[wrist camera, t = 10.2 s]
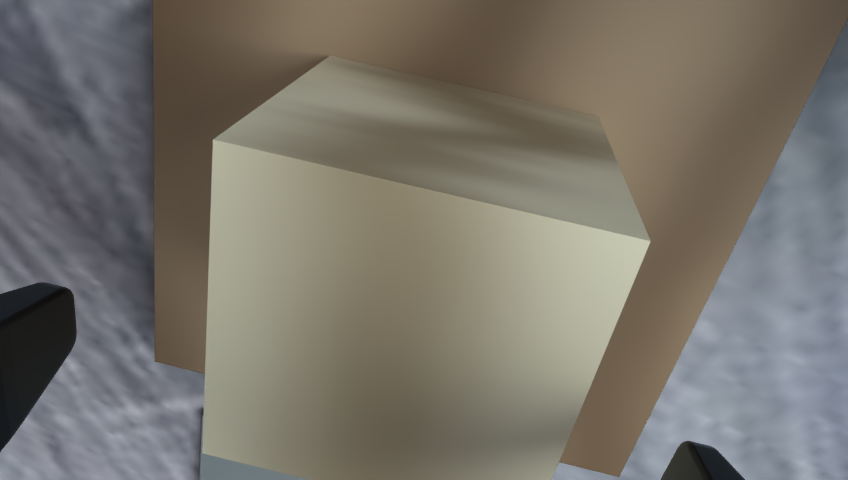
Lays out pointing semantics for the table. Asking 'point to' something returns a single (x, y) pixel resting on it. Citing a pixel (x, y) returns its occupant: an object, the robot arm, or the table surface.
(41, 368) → the robot arm
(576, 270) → the ash block
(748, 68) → the walnut board
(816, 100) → the table surface
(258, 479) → the mat
